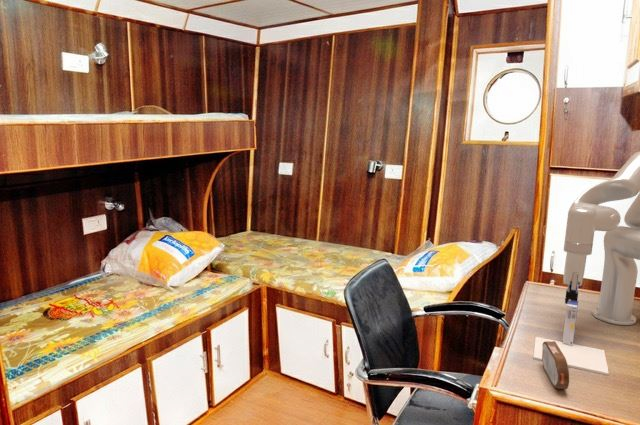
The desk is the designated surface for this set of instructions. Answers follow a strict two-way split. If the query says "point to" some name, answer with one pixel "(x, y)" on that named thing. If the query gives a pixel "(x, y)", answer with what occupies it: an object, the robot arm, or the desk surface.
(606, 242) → the robot arm
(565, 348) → the mat
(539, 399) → the desk surface
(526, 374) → the desk surface
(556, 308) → the desk surface
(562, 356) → the tin
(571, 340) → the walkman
